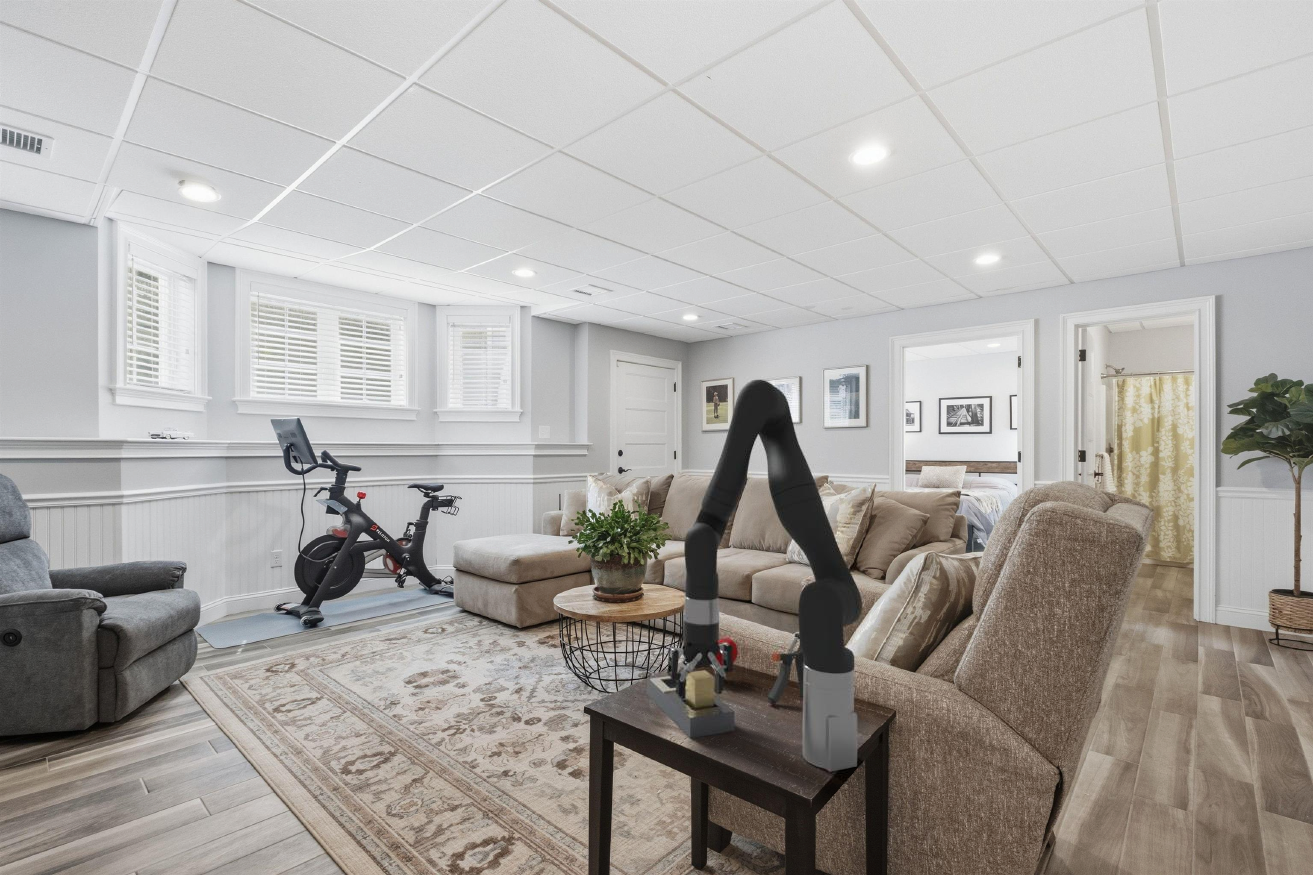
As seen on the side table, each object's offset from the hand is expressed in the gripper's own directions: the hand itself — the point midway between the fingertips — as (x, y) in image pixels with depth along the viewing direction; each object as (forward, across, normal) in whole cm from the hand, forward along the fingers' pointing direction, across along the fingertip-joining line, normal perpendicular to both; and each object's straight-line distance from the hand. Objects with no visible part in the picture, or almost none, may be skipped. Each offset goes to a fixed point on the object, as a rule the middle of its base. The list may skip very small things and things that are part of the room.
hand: (699, 695), depth 130 cm
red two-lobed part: (+6, +16, +21) cm, 27 cm away
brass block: (+6, 0, 0) cm, 6 cm away
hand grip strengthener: (+6, +25, +4) cm, 26 cm away
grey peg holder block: (+6, 0, +6) cm, 8 cm away
